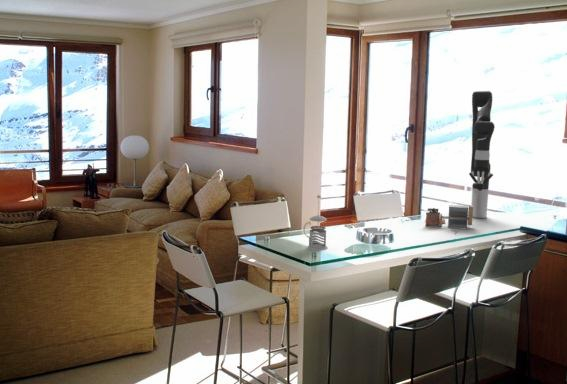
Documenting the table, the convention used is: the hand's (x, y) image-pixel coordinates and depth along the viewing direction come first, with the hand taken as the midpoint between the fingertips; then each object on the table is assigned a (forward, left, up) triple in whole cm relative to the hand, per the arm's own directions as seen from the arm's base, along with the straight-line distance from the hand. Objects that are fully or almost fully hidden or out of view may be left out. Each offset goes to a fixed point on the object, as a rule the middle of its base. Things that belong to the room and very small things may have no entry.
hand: (480, 190), depth 361 cm
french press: (+72, -77, -21) cm, 107 cm away
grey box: (0, -11, -21) cm, 24 cm away
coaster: (-11, -23, -21) cm, 33 cm away
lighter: (+1, -24, -21) cm, 32 cm away
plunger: (0, -12, -20) cm, 24 cm away
